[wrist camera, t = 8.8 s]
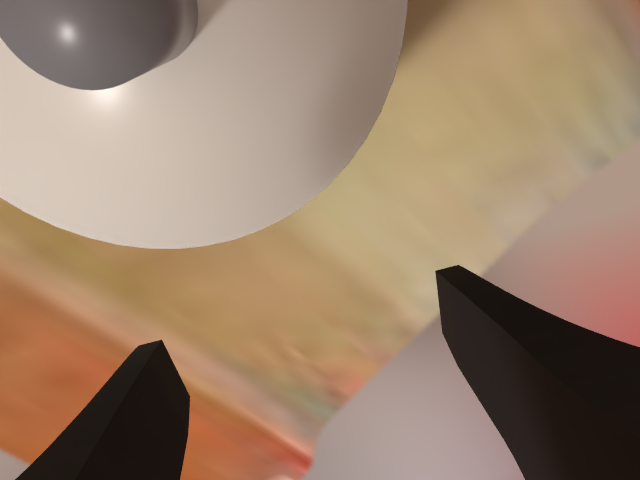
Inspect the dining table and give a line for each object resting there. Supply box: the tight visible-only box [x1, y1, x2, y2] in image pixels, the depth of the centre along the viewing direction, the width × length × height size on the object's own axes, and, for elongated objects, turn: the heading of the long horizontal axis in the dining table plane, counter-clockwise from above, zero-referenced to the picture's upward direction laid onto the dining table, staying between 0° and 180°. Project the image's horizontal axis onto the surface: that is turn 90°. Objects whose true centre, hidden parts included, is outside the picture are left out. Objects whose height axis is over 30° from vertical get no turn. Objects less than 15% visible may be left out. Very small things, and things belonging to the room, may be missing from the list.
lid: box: [0, 0, 408, 249], centre depth 10 cm, size 15×15×6 cm
